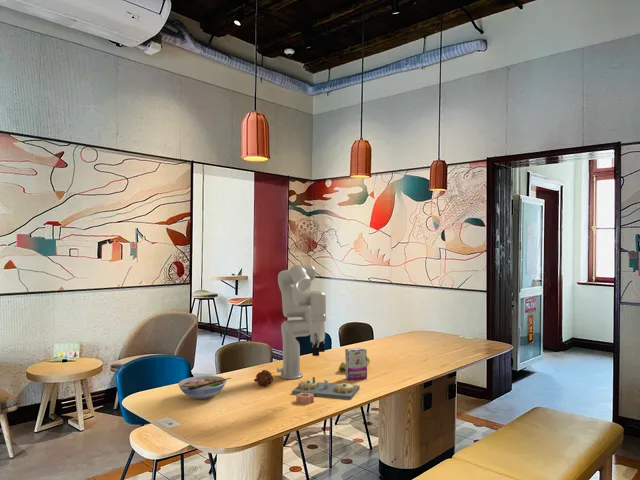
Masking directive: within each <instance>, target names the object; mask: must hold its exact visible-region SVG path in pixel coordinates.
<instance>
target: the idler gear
mask: <svg viewBox="0 0 640 480" xmlns="http://www.w3.org/2000/svg"><path fill="white" fill-rule="evenodd" d="M295 397H296V399H295V400H296V403H297V404H303V405H310V404H312V403H314V402H315V396H314V394H313V393H312V394H311V393H300V394H295Z"/></svg>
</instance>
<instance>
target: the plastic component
mask: <svg viewBox="0 0 640 480" xmlns="http://www.w3.org/2000/svg"><path fill="white" fill-rule="evenodd" d="M370 363H371V359H370V358H369V357H368V356H367V367H368V366H369V365H370ZM344 370H345V371H346V362H343V361H342V362H341V363H340V365H339V367H338V371H344Z"/></svg>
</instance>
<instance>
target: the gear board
mask: <svg viewBox="0 0 640 480" xmlns="http://www.w3.org/2000/svg"><path fill="white" fill-rule="evenodd" d="M360 388H361V387H360V385H355V384H352V383H351V382H350V383H345V382H342V383H330V382H329V379H324V382H318V381H317V380H316V377H315V376H313V377H312V380H310V379H306V380H301V381H299V382H298V386H297V387H295V388H293V390H291V394H292V395H296V394H300V393H311V394H312V393H313V394H314V397H323V398H331V399H332V398H333V399H343V400H352V399H353V398H354V397H355V395H356V394H357V393H358V391H359V390H360Z"/></svg>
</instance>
